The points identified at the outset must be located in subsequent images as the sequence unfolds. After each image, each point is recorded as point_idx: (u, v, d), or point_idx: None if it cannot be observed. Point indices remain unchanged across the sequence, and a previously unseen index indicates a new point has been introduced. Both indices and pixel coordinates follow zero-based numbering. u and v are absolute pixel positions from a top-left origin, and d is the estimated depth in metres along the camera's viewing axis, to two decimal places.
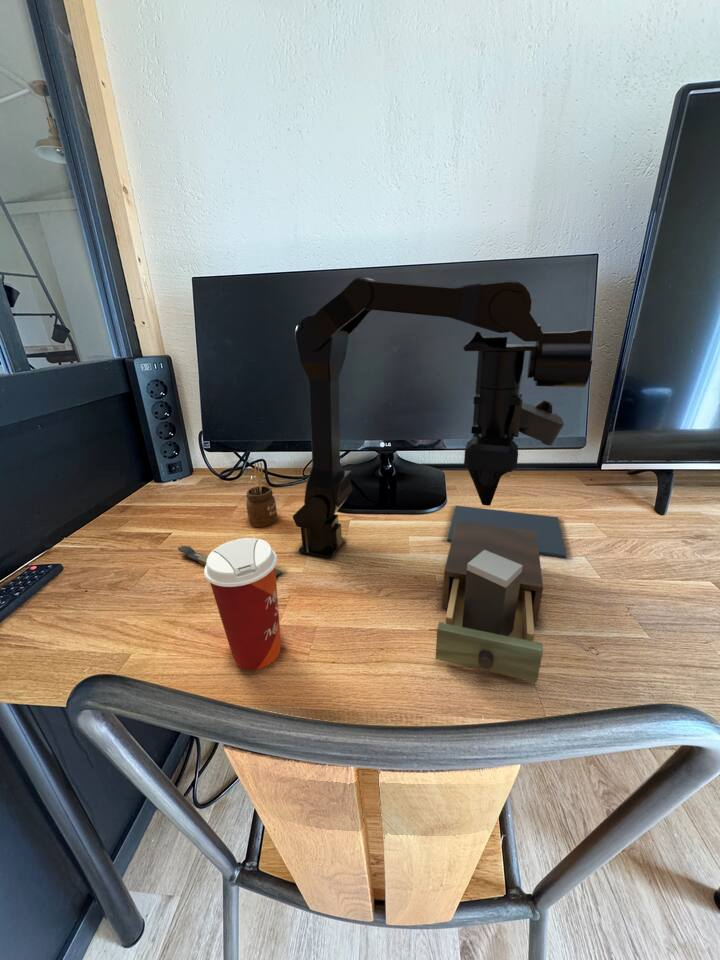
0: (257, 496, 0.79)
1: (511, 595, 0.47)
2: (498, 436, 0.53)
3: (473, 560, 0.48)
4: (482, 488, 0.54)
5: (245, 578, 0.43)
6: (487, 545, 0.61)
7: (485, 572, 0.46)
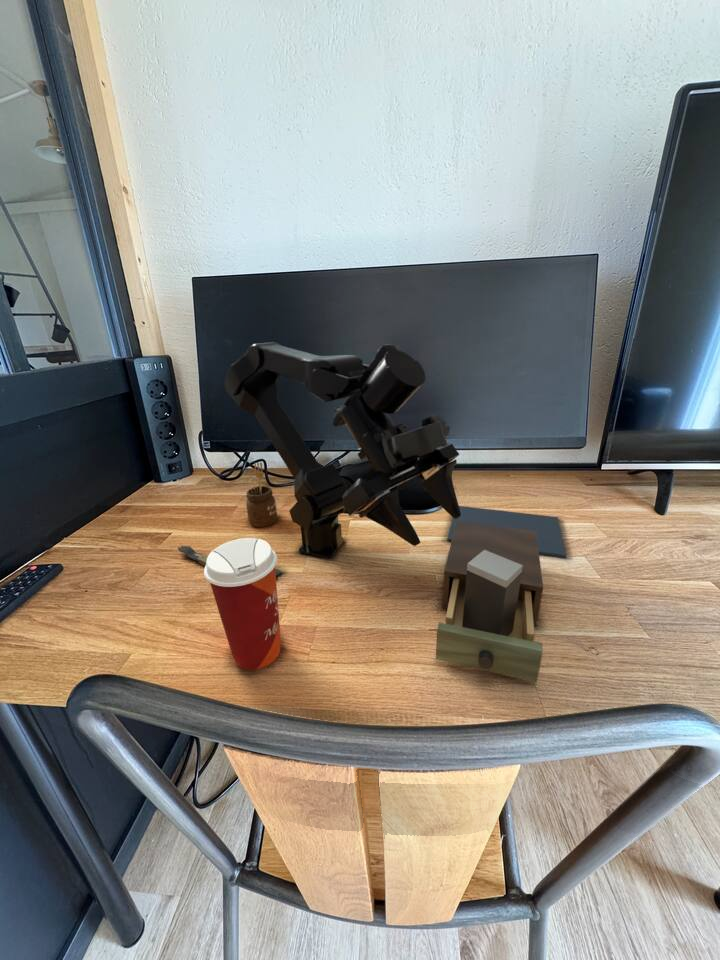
0: (257, 496, 0.79)
1: (511, 595, 0.47)
2: (389, 474, 0.51)
3: (473, 560, 0.48)
4: (396, 529, 0.49)
5: (245, 578, 0.43)
6: (487, 545, 0.61)
7: (485, 572, 0.46)
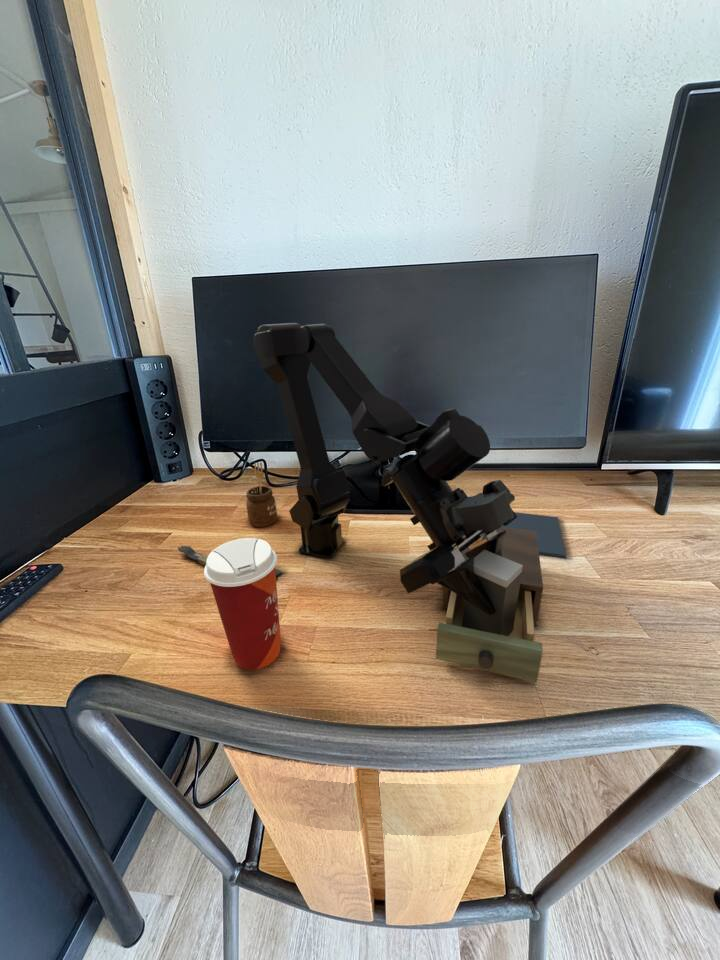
0: (257, 496, 0.79)
1: (511, 595, 0.47)
2: (448, 545, 0.48)
3: None
4: (469, 597, 0.47)
5: (245, 578, 0.43)
6: None
7: (485, 571, 0.46)
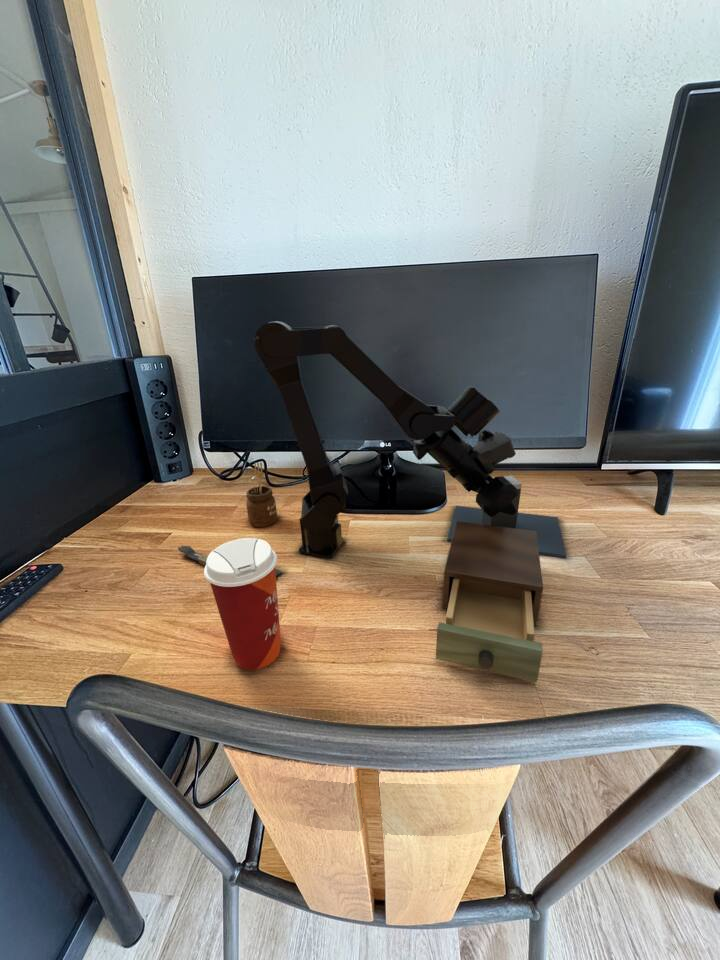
0: (257, 496, 0.79)
1: None
2: (485, 479, 0.69)
3: None
4: (504, 508, 0.71)
5: (245, 578, 0.43)
6: (487, 545, 0.61)
7: None
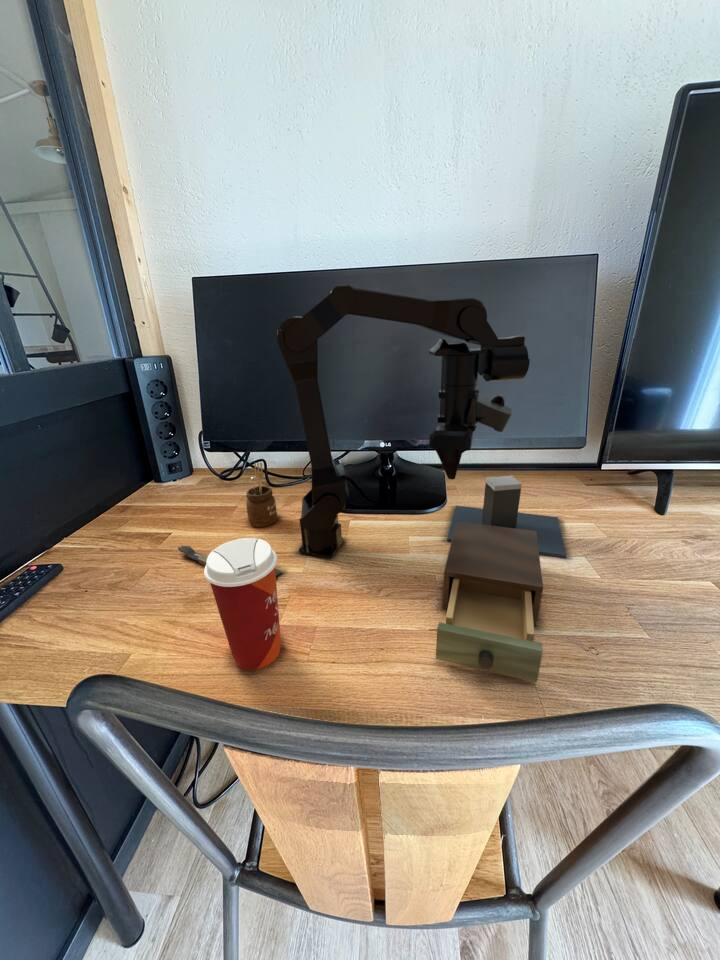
0: (257, 496, 0.79)
1: None
2: (459, 424, 0.65)
3: (494, 483, 0.72)
4: (447, 464, 0.66)
5: (245, 578, 0.43)
6: (487, 545, 0.61)
7: (507, 485, 0.71)
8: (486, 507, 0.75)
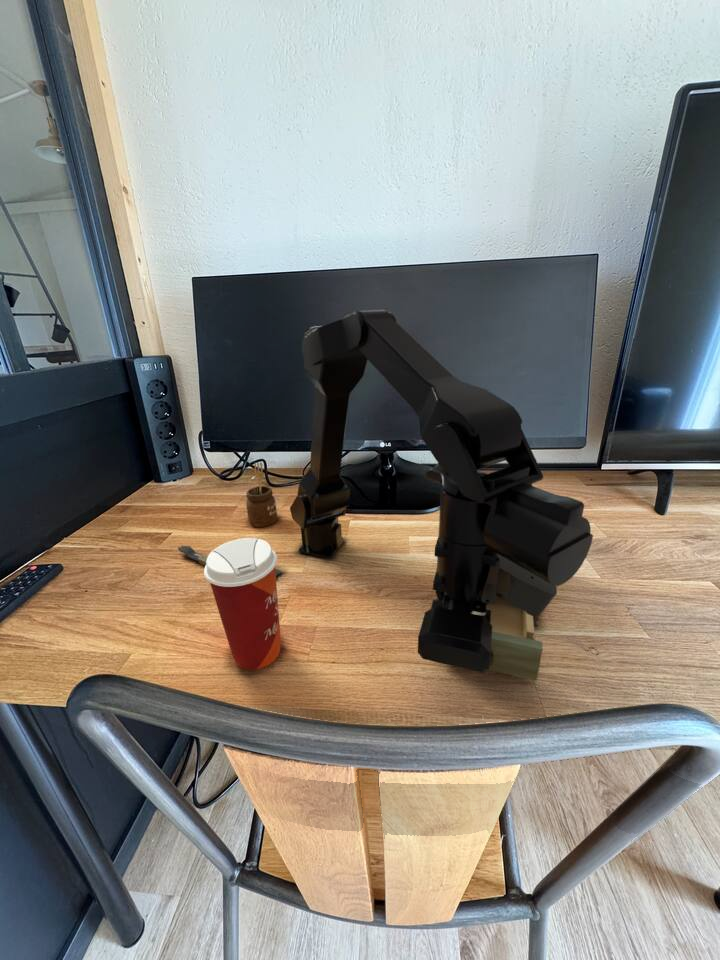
0: (257, 496, 0.79)
1: None
2: (468, 599, 0.39)
3: None
4: None
5: (245, 578, 0.43)
6: None
7: None
8: None
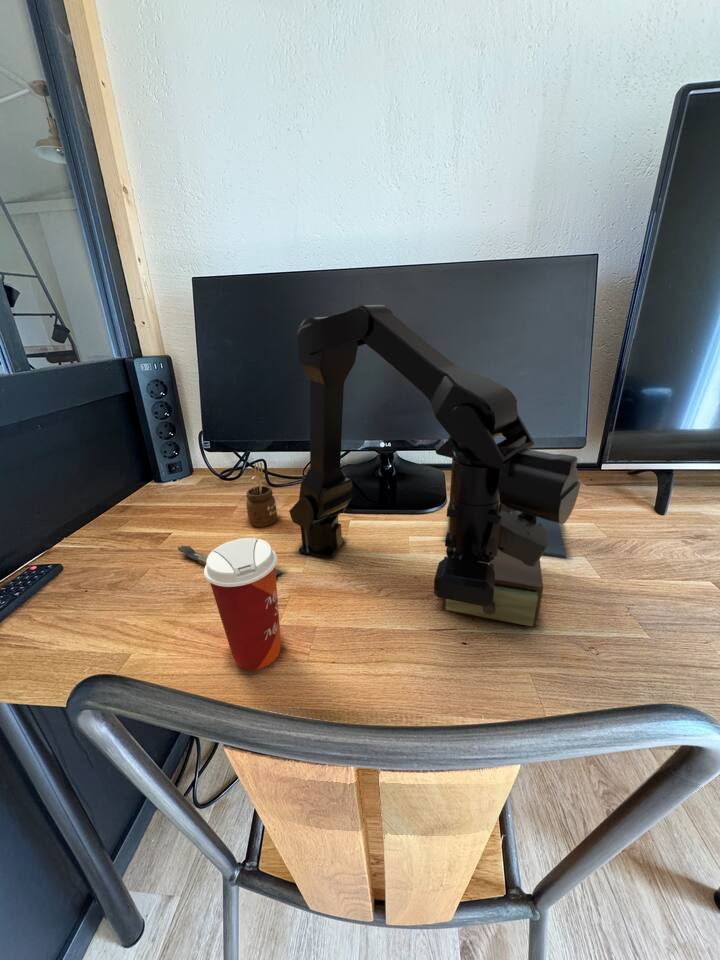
0: (257, 496, 0.79)
1: None
2: (474, 553, 0.47)
3: None
4: None
5: (245, 578, 0.43)
6: None
7: None
8: None
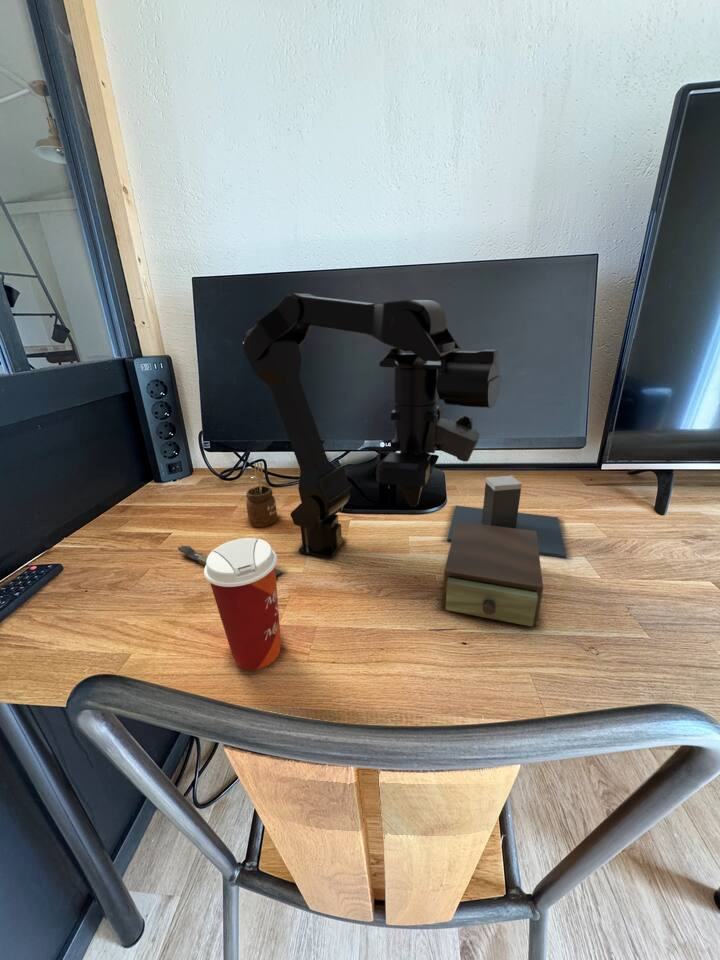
0: (257, 496, 0.79)
1: None
2: (416, 452, 0.54)
3: (494, 483, 0.72)
4: (407, 490, 0.58)
5: (245, 578, 0.43)
6: (487, 545, 0.61)
7: (507, 485, 0.71)
8: (486, 507, 0.75)
